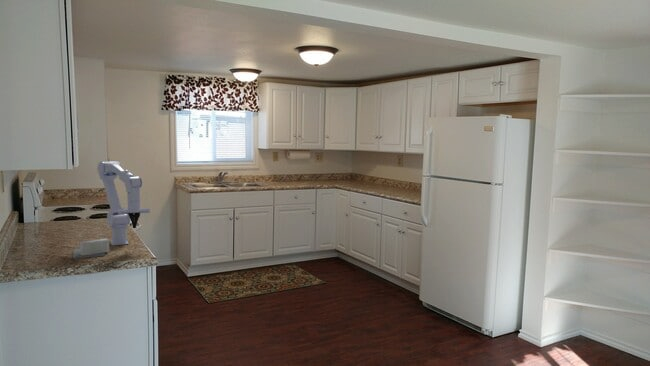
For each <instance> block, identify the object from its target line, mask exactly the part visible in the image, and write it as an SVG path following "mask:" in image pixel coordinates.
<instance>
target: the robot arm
mask: <svg viewBox="0 0 650 366" xmlns="http://www.w3.org/2000/svg"><path fill="white" fill-rule="evenodd" d="M96 169H97V170H96V171H97V173H98V176H99V178H100V180H102V182H103V187H104V190H105V193H106V197H107V200H108V203H109V208H110V210H109V211H108V212H107V214H106V218H107V221H106V222H107V224H108V226H109V228H111V240H110V245H111V246H121V245H129V242H128V235H127V233H128V229H127V227H128V226H129V224H130V223H131V226H132V229H137V225H138V222H139V219H140V217H141V214H147V213H148V214H149V213H150V212H151V210H150V208H141V193H140V192H141V191H140V190H141V189H140V188H141V187H142V186H143V179H142V178H141V177H140V176H139V175H138V176H135V175H134V174H133V173H131V172H130V170H128V169H125V170H124V169H123V168H122V167H121V163H120V161H99V162H98V164H97V168H96ZM117 178H119V180H120V181H121V182H122V183H124V186H125V191H126V193H127V195H126V196H127V209H126V208H124V207H122V206H121V205H122V204H121V202H120V197H119V194H118V190H117V188H116V184H115V179H117Z"/></svg>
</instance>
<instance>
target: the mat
mask: <svg viewBox="0 0 650 366" xmlns="http://www.w3.org/2000/svg"><path fill="white" fill-rule="evenodd" d="M105 253H106V252H104V253H98V254H91V255H85V256H83V255H81V254H80V248H75V249H73V253H72V254H73V255H72V257H73V260H76V259H88V258H99V257H106V254H105Z"/></svg>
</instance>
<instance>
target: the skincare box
mask: <svg viewBox="0 0 650 366" xmlns="http://www.w3.org/2000/svg"><path fill="white" fill-rule="evenodd" d="M79 249H80V254H81V255H83V256H85V255H91V254H98V253H109V252H110V240H109V239H107V238H99V239H93V240H92V239H91V240H85V241H79Z"/></svg>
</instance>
